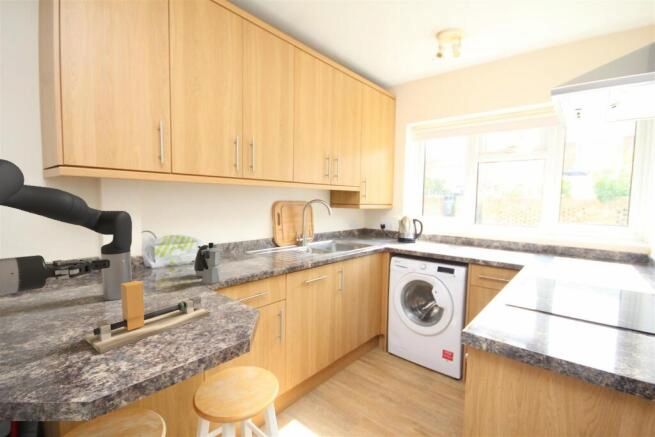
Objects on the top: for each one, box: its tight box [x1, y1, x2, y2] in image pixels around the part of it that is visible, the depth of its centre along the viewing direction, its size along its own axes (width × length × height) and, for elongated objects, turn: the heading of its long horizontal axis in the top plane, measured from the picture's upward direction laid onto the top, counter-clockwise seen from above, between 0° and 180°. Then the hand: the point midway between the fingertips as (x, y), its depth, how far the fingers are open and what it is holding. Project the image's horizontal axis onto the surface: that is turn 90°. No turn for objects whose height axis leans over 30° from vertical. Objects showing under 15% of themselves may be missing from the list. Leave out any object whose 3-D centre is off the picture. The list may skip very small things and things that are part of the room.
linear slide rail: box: [84, 295, 211, 354], centre depth 87 cm, size 12×29×5 cm, turn 143°
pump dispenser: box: [193, 244, 209, 278], centre depth 143 cm, size 10×10×15 cm
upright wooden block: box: [121, 280, 145, 330], centre depth 82 cm, size 4×4×12 cm
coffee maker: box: [201, 242, 223, 285], centre depth 132 cm, size 15×9×18 cm, turn 178°
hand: (108, 263), depth 77 cm, fingers closed
